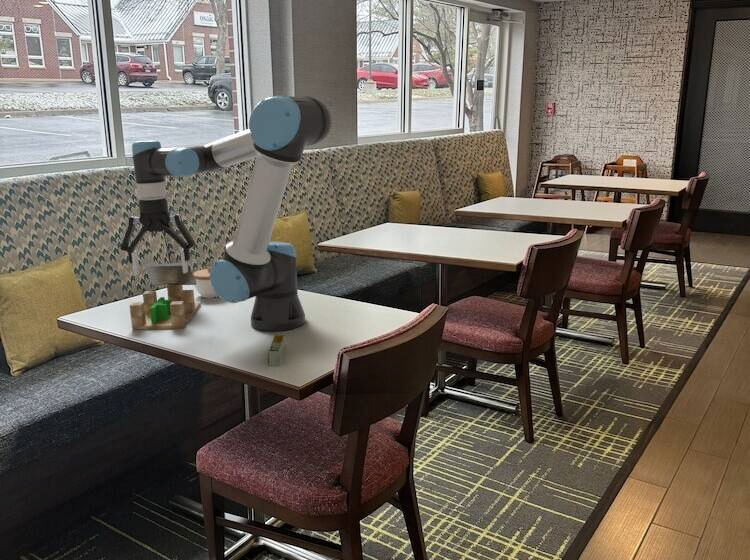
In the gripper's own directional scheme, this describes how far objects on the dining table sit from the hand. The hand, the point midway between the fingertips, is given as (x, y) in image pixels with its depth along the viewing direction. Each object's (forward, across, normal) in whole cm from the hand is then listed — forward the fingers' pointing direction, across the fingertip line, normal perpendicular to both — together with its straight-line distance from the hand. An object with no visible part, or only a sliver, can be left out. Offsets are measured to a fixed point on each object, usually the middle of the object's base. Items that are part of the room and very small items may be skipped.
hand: (161, 273), depth 192 cm
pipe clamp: (+13, +1, -1) cm, 13 cm away
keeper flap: (+3, +1, -11) cm, 11 cm away
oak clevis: (+14, +1, -4) cm, 15 cm away
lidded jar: (+14, -7, -26) cm, 31 cm away
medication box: (+16, -35, +31) cm, 49 cm away
